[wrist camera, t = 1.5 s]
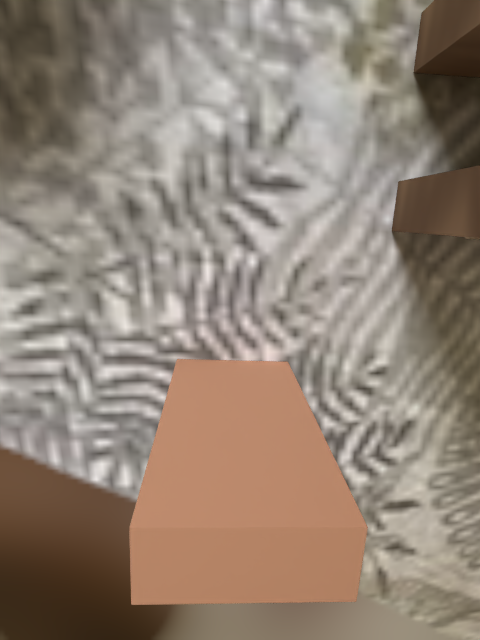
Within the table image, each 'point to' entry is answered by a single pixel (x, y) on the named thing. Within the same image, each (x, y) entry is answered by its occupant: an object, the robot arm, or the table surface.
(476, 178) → the domino
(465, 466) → the table surface
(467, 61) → the domino
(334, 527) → the domino
